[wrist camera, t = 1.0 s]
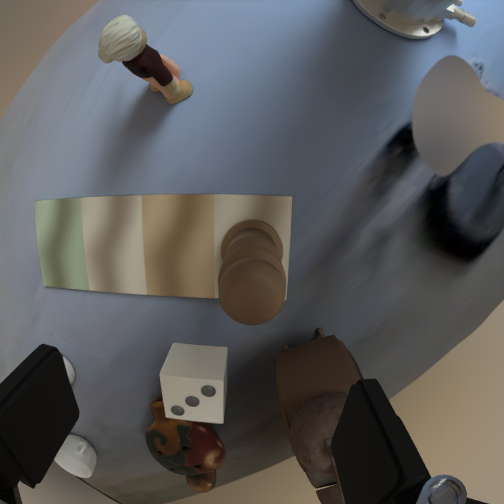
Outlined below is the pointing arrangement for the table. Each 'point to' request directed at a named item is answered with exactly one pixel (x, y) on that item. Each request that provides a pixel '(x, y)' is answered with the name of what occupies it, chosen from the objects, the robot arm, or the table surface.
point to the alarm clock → (315, 405)
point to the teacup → (77, 456)
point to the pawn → (252, 273)
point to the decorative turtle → (185, 447)
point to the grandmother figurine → (142, 58)
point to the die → (195, 382)
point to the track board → (148, 240)
